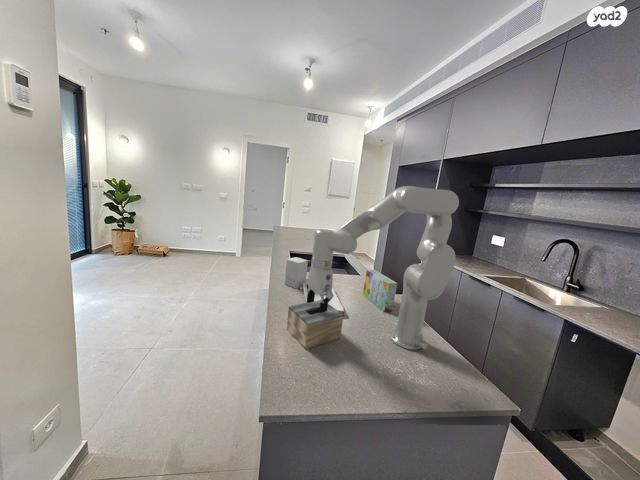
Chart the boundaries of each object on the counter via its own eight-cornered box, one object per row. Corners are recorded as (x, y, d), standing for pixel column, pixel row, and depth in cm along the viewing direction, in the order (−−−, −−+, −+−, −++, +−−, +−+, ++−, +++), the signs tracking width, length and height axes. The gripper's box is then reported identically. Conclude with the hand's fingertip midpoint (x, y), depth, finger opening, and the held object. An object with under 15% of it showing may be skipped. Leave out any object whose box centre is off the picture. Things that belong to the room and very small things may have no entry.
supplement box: (306, 285, 153) (308, 260, 150) (296, 289, 146) (299, 263, 143) (293, 280, 158) (296, 256, 155) (283, 284, 150) (286, 259, 148)
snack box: (393, 311, 132) (398, 283, 129) (383, 312, 130) (388, 283, 127) (370, 294, 151) (374, 268, 148) (361, 294, 149) (365, 269, 146)
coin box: (340, 338, 103) (343, 314, 101) (305, 349, 94) (308, 323, 92) (319, 321, 114) (322, 299, 112) (286, 329, 105) (288, 306, 103)
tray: (331, 290, 151) (331, 284, 151) (343, 317, 121) (344, 310, 120) (301, 288, 149) (302, 282, 148) (307, 316, 118) (308, 308, 117)
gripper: (344, 269, 93) (338, 315, 97) (316, 255, 107) (312, 296, 111) (327, 271, 89) (321, 319, 93) (300, 257, 103) (296, 299, 106)
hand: (316, 306), depth 102 cm, fingers open, 8 cm apart
